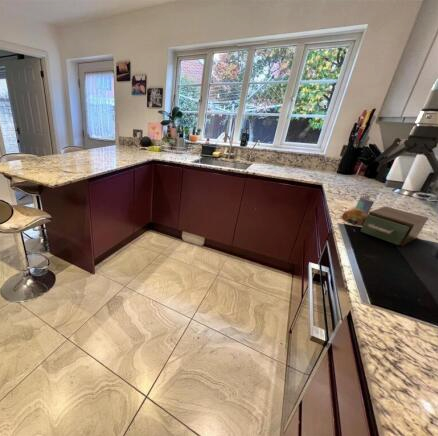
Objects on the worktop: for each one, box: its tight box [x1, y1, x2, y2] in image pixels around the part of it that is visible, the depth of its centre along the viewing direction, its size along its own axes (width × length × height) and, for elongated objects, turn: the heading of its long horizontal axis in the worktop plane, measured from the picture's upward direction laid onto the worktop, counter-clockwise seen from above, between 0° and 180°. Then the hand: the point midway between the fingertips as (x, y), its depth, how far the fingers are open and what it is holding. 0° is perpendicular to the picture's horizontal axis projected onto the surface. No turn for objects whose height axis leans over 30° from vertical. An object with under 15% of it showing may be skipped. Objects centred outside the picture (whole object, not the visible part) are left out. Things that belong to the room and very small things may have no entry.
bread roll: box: [341, 207, 369, 226], centre depth 112 cm, size 10×10×8 cm
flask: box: [354, 194, 375, 214], centre depth 120 cm, size 9×3×11 cm, turn 164°
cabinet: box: [365, 206, 429, 247], centre depth 99 cm, size 16×14×10 cm
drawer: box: [359, 215, 410, 246], centre depth 96 cm, size 20×13×8 cm, turn 118°
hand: (399, 185), depth 88 cm, fingers open, 13 cm apart
